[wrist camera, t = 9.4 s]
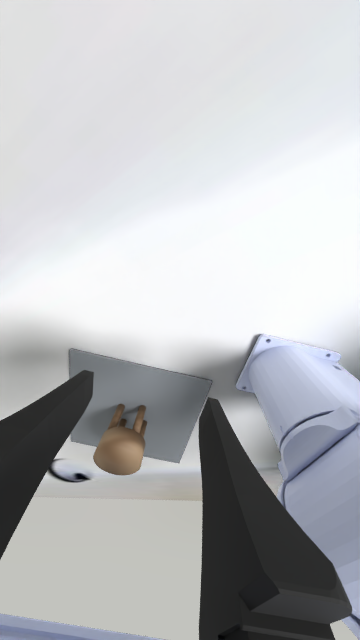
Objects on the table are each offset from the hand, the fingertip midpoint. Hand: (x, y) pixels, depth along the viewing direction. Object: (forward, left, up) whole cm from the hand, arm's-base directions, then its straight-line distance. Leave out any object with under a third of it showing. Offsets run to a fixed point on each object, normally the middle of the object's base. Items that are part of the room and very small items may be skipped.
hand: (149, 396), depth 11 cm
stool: (+2, +15, -10) cm, 18 cm away
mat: (+2, +15, -10) cm, 18 cm away
